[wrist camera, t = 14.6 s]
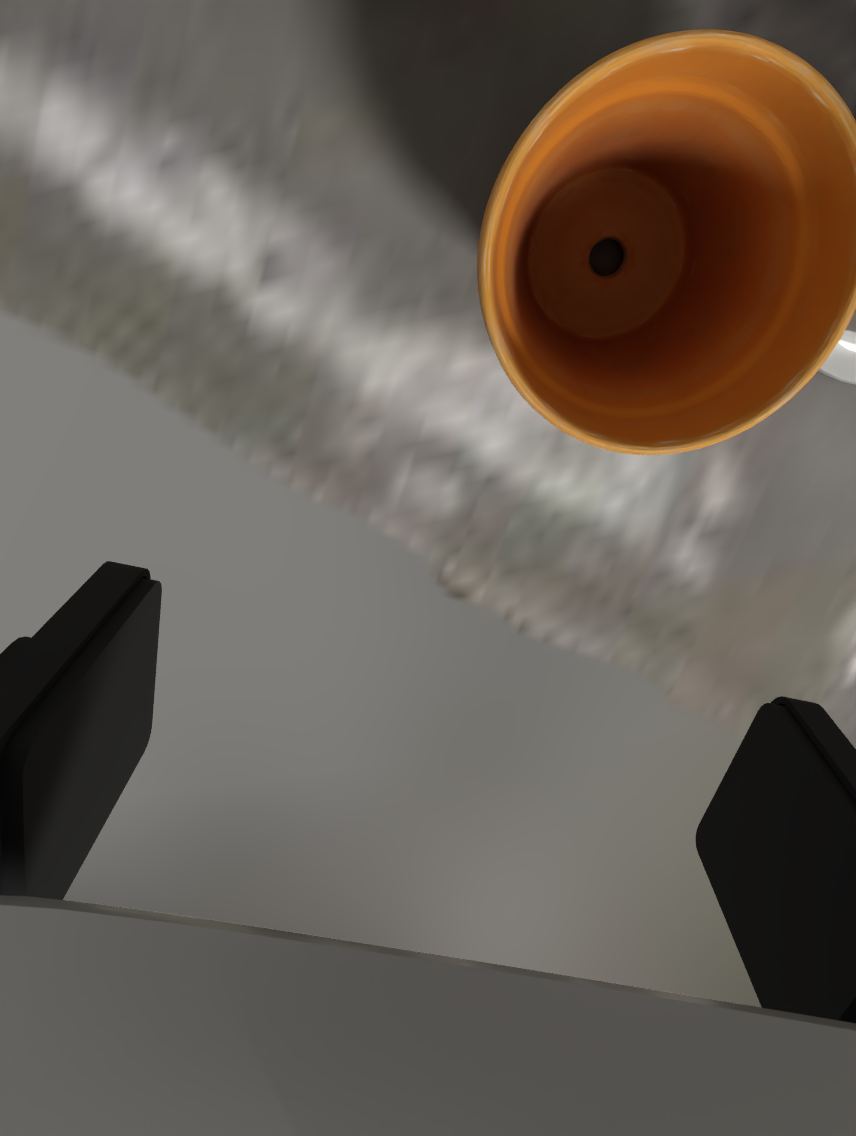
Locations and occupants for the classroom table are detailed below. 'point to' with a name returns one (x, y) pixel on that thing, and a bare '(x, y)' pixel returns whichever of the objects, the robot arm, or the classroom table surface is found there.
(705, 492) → the classroom table surface
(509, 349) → the flower pot
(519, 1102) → the robot arm
